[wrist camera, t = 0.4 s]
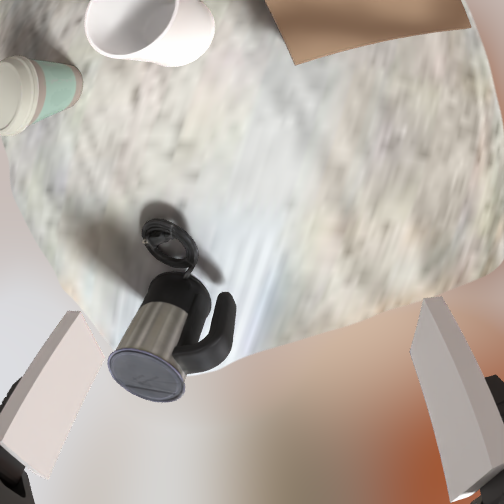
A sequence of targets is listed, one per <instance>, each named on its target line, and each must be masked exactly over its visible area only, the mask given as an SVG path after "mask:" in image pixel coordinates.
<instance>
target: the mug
mask: <svg viewBox="0 0 504 504" xmlns="http://www.w3.org/2000/svg"><path fill="white" fill-rule="evenodd" d="M84 28H85V33H86V37H87V39H88V41H89V43H90V44H91V46H92V47H93V48H94V49H95V50H96V51H97V52H99V53H100V54H102V55H105V56H107V57H111V58H117V59H128V60H137V61H146V62H154V63H156V64H159V65H162V66H166V67H177V66H182V65H186V64H188V63H191V62H192V61H194V60H196V59H197V58H199V57H200V56H201V55H202V54H203V53H204V52H205V51H206V50H207V49H208V47H209V46H210V44H211V42H212V40H213V37H214V33H215V21H214V17H213V14H212V12H211V11H210V9H209V8H208V7H207V6H206V5H205V4H204V3H203V2H201V1H199V0H90V2H89V4H88V7H87V9H86V13H85V19H84Z"/></svg>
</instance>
